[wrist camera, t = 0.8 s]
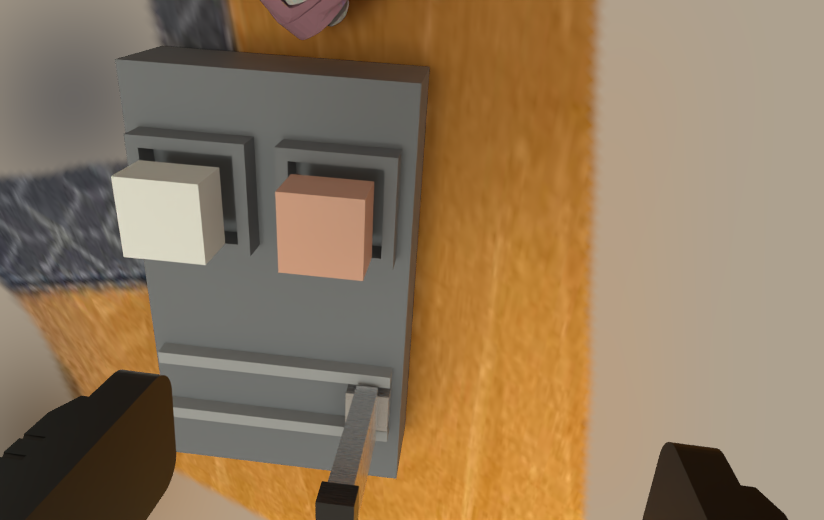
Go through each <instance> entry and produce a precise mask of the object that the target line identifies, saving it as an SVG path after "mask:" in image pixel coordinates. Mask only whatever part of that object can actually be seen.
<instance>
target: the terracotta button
mask: <svg viewBox="0 0 824 520" xmlns="http://www.w3.org/2000/svg"><path fill="white" fill-rule="evenodd" d="M275 198H276V224H277V249H278V273H288V274H298V275H308V276H318V277H328V278H338V279H347V280H357V281H363V280H364V277H365V274H366V272H367V269H368V266H369V264H370V261H371V258H372V234H373V204H374V181H363V180H352V179H341V178H330V177H319V176H308V175H297V174H290V176H289V177H288V178H287V179H286V180H285V181H284V182H283V183H282V185H281V186H280V187H279V188H278V189H277V190H276V191H275Z"/></svg>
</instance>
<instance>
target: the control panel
mask: <svg viewBox="0 0 824 520" xmlns="http://www.w3.org/2000/svg"><path fill="white" fill-rule="evenodd" d="M115 62H116V69H117V76H118V83H119V90H120V96H121V104H122V111H123V118H124V125H125V131H126V133H125V134H124V140H125V147H126V154H127V161H128V166H130V165H131V164H133V163H135V162H136V161H138V160H142V161H153V162H164V163H175V164H186V165H197V166H208V167H219V172H220V184H221V197H222V210H223V222H224V235H225V244H224V245H223V246H222V247H221V249H220V250H219V251H218V252H217V253H216V254H215V255H214V256H213V257H212V259H211V260H210V261H209V262H208V263H207V264H206V265H199V264H189V263H180V262H170V261H160V260H150V259H144V265H145V272H146V279H147V286H148V293H149V300H150V307H151V314H152V321H153V328H154V335H155V342H156V349H157V356H158V363H159V370H160V375H165V376H167V377H168V378H169V380H170V382H171V386H172V397H173V412H174V426H175V441H176V452H183V453H191V454H199V455H207V456H215V457H224V458H232V459H240V460H248V461H256V462H264V463H273V464H281V465H289V466H297V467H305V468H314V469H322V470H330V471H331V470H332V466H333V463H334V460H335V456H336V453H337V450H338V446H339V443H340V439H341V436H342V433H343V429H344V426H345V402H346V390H347V387H348V384H353V385H362V386H371V387H380V388H389V389H390V385H391V402H390V418H389V423H388V428H387V432H385V431H377V430H376V441H375V445H374V450H373V454H372V459H371V463H370V468H369V472H368V475H371V476H379V477H387V478H396V477H397V471H398V465H399V459H400V453H401V447H402V441H403V435H404V429H405V418H406V404H407V389H408V375H409V360H410V346H411V331H412V317H413V302H414V288H415V273H416V259H417V244H418V229H419V215H420V200H421V186H422V171H423V157H424V142H425V128H426V113H427V99H428V84H429V70H430V67H427V66H414V65H401V64H388V63H375V62H362V61H350V60H337V59H324V58H311V57H298V56H285V55H272V54H259V53H247V52H234V51H221V50H208V49H195V48H182V47H169V46H160V47H156V48H153V49H149V50H146V51H143V52H139V53H135V54H132V55H128V56H125V57H121V58H118V59H115ZM290 174H297V175H308V176H319V177H330V178H341V179H352V180H363V181H374V204H373V234H372V258H371V261H370V264H369V266H368V269H367V272H366V274H365V277H364V280H363V281H357V280H347V279H338V278H328V277H318V276H308V275H298V274H288V273H278V249H277V224H276V198H275V191H276V190H277V189H278V188H279V187H280V186H281V185H282V183H283V182H284V181H285V180H286V179H287V178H288V177H289V176H290Z"/></svg>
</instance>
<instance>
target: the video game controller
mask: <svg viewBox="0 0 824 520" xmlns="http://www.w3.org/2000/svg"><path fill="white" fill-rule="evenodd" d="M260 1H261V2H262V3H263V4H264V6H265V7H266V8H267V9H268V10H269V12H270V13H271V15H272V16H273V17H274V18H275V20H276V21H277V22H278V23H279V24H281V25H282V26H283V27H285V28H286V29H287V30H288V31H290V32H291V33H292V34H294V35H295V36H296V37H297V38H299V39H301V40H305V39H308V38H310V37H312V36H314V35H316V34H318V33H319V32H321V31H322V30H323V29H324V28H325V27H326V26H327V25H328V26H334V25H336V24H338V23H339V22H341V21H342V20H343V19H344V18H345V16H346V14H347V11H348V7H349V1H348V0H260Z"/></svg>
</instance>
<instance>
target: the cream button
mask: <svg viewBox="0 0 824 520" xmlns="http://www.w3.org/2000/svg"><path fill="white" fill-rule="evenodd" d="M111 179H112V185H113V192H114V198H115V204H116V211H117V217H118V223H119V230H120V236H121V242H122V248H123V255H124V257H130V258H140V259H150V260H160V261H170V262H180V263H189V264H199V265H206V264H207V263H208V262H209V261H210V260H211V259H212V257H213V256H214V255H215V254H216V253H217V252H218V251H219V250H220V249H221V247H222V246H223V245H224V244H225V235H224V222H223V210H222V197H221V184H220V172H219V167H208V166H197V165H186V164H175V163H164V162H153V161H142V160H138V161H136V162H135V163H133V164H131V165H130V166H128V167H126V168H125V169H123V170H121V171H119V172H118V173H116V174H114V175H113V176H111Z"/></svg>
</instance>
